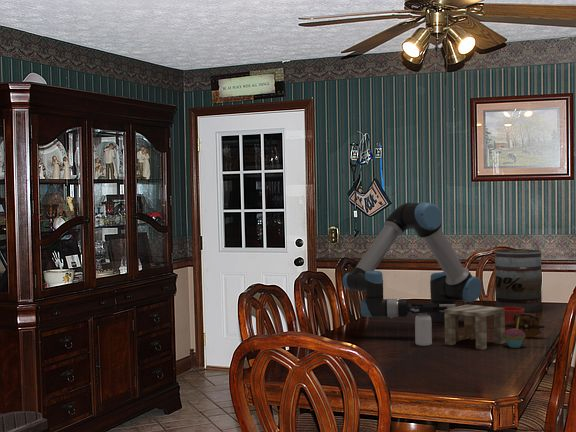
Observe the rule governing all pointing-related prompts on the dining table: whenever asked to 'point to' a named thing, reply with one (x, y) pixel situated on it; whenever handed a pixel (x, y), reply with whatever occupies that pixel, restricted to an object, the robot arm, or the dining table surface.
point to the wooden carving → (526, 324)
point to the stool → (480, 318)
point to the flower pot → (511, 313)
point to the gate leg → (466, 328)
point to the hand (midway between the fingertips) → (455, 307)
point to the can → (423, 330)
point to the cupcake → (514, 336)
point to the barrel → (518, 279)
